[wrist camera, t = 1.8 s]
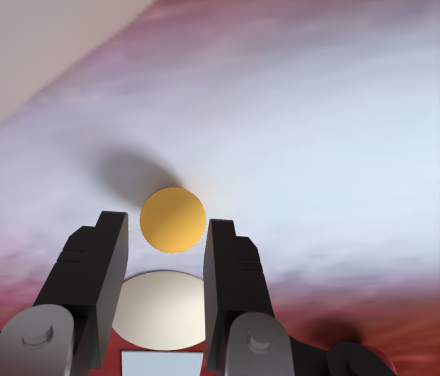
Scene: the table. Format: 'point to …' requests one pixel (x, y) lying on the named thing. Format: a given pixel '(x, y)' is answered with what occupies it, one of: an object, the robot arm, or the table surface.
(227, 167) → the table surface
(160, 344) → the disc
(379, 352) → the onion
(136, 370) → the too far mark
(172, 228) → the ball
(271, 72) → the table surface
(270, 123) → the table surface
